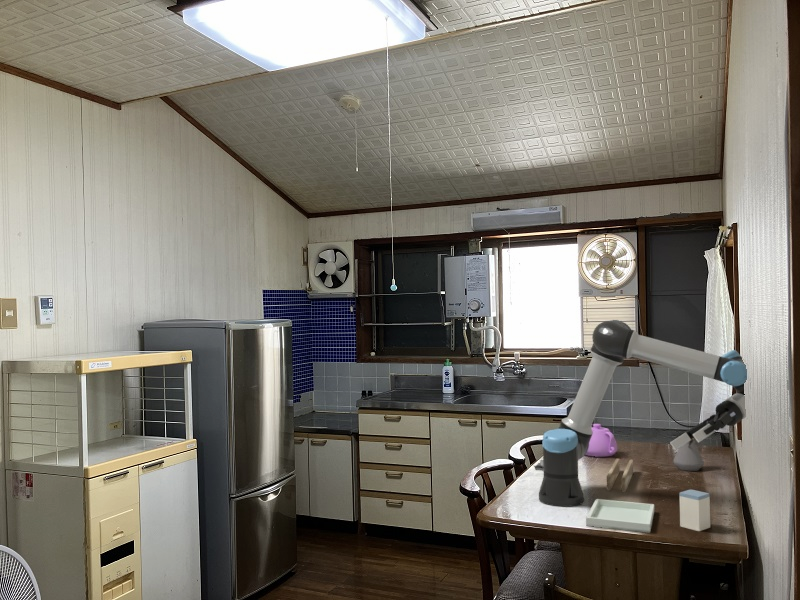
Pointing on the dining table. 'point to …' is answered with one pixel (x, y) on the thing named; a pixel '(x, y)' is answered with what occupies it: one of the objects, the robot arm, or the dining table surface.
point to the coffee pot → (688, 457)
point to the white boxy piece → (694, 510)
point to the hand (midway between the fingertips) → (684, 442)
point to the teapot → (601, 442)
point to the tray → (621, 515)
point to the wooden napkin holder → (614, 473)
